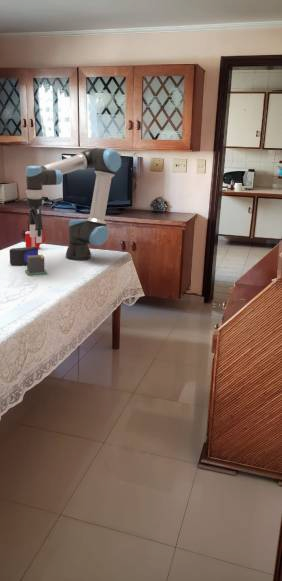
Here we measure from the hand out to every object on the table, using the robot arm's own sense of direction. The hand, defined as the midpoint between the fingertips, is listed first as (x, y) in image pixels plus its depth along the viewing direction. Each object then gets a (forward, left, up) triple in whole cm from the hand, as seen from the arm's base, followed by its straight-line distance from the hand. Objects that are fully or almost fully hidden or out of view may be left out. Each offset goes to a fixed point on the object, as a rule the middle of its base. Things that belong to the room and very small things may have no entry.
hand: (35, 239), depth 231 cm
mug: (-12, -53, -18) cm, 57 cm away
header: (0, 0, -18) cm, 18 cm away
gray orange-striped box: (0, 0, -17) cm, 17 cm away
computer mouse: (+2, -20, -18) cm, 27 cm away
